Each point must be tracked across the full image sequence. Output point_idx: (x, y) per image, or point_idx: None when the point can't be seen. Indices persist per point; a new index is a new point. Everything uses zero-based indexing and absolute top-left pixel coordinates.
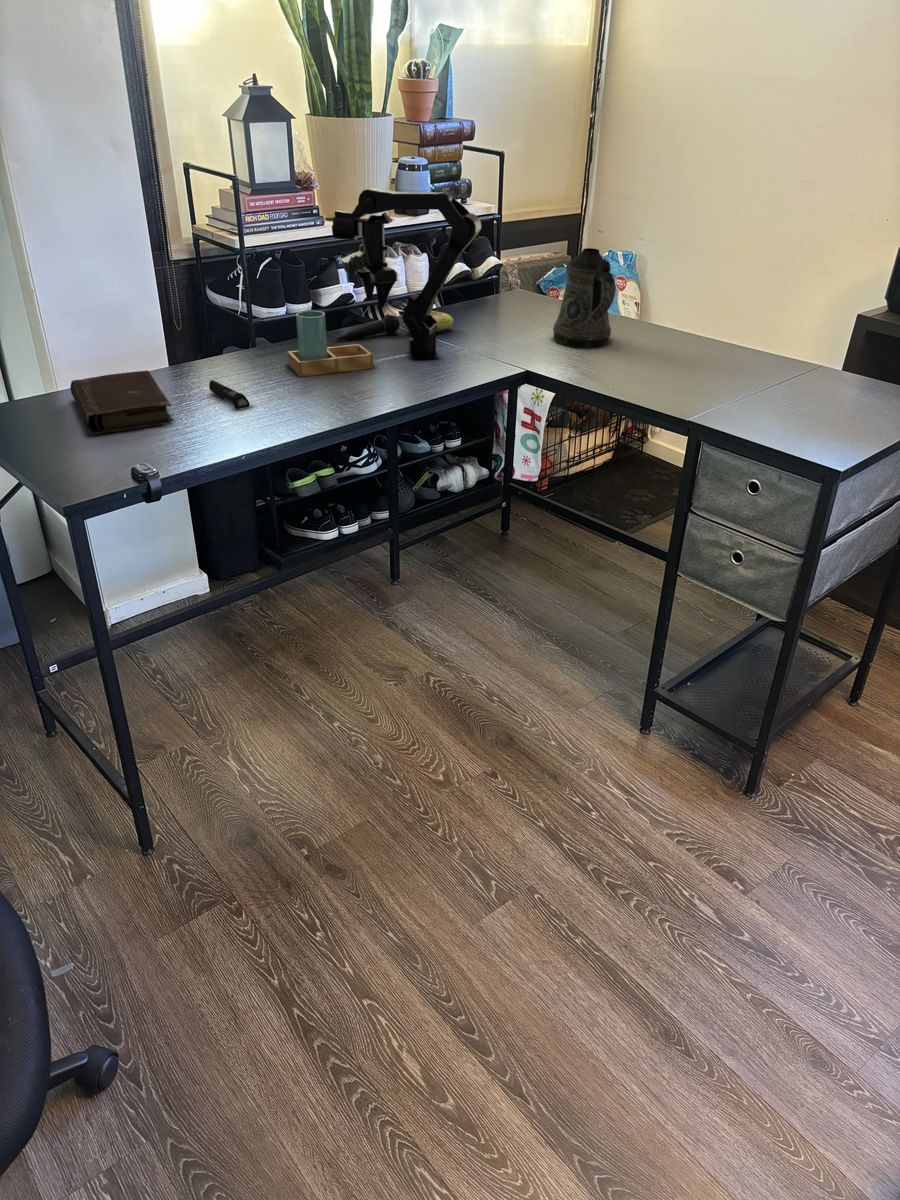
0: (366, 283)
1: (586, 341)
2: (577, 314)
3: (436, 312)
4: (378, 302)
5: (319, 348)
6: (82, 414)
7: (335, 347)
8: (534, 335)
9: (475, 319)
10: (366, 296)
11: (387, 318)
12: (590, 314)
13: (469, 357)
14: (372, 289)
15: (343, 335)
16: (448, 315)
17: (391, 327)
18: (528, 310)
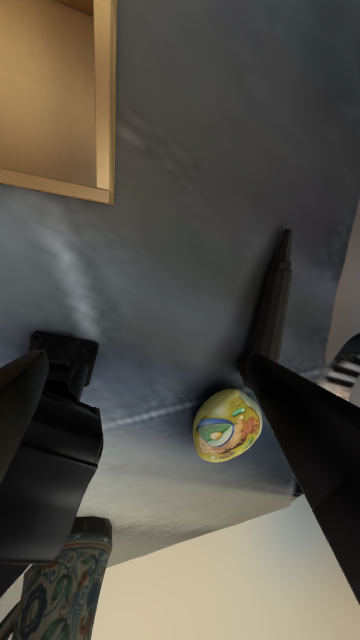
0: (331, 433)
1: None
2: (26, 603)
3: (228, 454)
4: (14, 366)
5: None
6: None
7: (94, 46)
8: (122, 504)
9: (230, 468)
10: (268, 360)
11: None
12: (17, 612)
13: None
14: (273, 419)
15: (289, 252)
16: (213, 461)
17: (245, 367)
18: (222, 507)
